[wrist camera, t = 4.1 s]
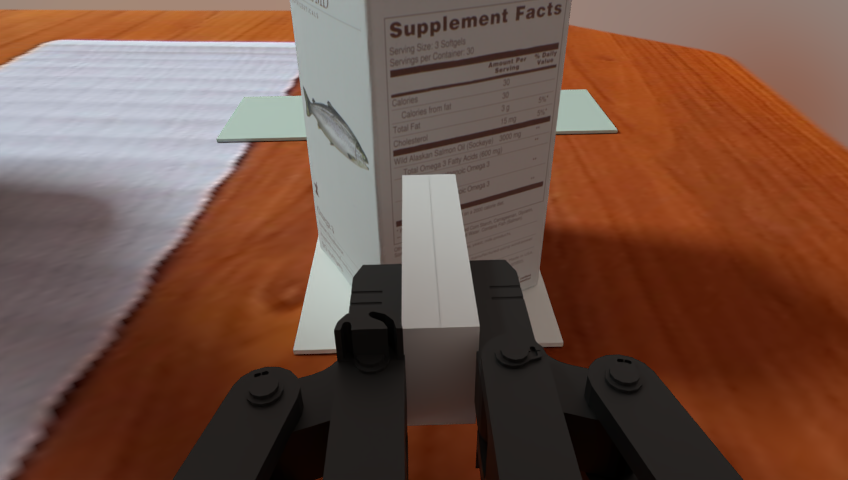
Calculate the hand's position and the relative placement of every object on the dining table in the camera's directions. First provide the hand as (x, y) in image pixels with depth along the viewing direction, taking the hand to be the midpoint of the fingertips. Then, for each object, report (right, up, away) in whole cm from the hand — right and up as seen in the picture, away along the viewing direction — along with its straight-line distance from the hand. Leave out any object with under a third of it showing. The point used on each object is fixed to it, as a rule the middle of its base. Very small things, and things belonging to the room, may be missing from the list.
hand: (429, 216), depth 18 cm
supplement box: (0, -2, +9) cm, 9 cm away
